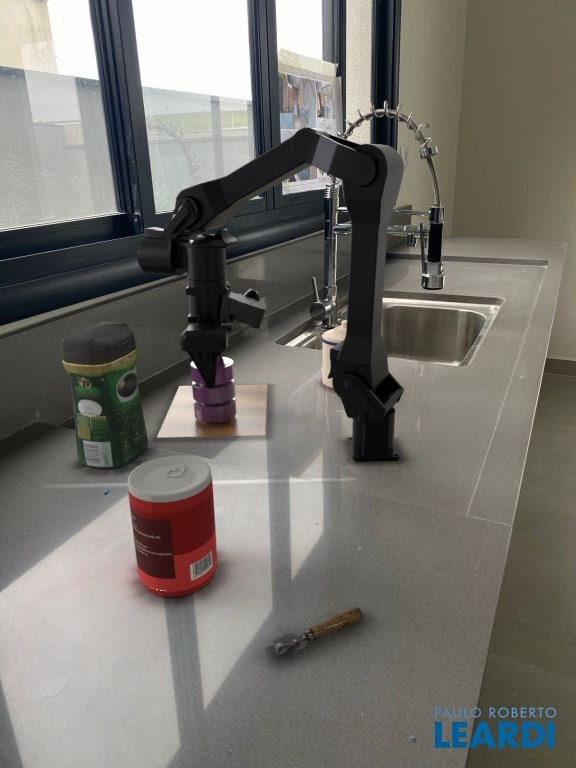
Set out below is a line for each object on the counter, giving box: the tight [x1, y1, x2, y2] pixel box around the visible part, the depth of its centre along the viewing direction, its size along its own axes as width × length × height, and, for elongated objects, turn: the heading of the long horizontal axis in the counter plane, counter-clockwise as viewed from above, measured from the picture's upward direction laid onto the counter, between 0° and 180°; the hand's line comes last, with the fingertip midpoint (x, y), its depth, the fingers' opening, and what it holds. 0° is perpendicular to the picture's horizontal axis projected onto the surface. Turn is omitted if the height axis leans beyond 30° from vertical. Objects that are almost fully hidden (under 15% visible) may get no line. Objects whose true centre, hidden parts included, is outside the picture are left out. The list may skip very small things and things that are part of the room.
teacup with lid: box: [320, 319, 347, 389], centre depth 109 cm, size 12×9×12 cm
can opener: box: [265, 606, 364, 657], centre depth 51 cm, size 9×2×1 cm, turn 113°
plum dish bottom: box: [193, 397, 236, 424], centre depth 95 cm, size 7×7×3 cm
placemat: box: [156, 383, 269, 439], centre depth 99 cm, size 22×16×1 cm
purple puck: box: [191, 378, 236, 405], centre depth 94 cm, size 7×7×3 cm
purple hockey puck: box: [189, 356, 236, 386], centre depth 93 cm, size 7×7×3 cm
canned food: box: [127, 454, 218, 598], centre depth 58 cm, size 8×8×11 cm
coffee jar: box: [60, 321, 149, 470], centre depth 81 cm, size 10×8×19 cm
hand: (213, 379), depth 93 cm, fingers closed on purple hockey puck, 6 cm apart
